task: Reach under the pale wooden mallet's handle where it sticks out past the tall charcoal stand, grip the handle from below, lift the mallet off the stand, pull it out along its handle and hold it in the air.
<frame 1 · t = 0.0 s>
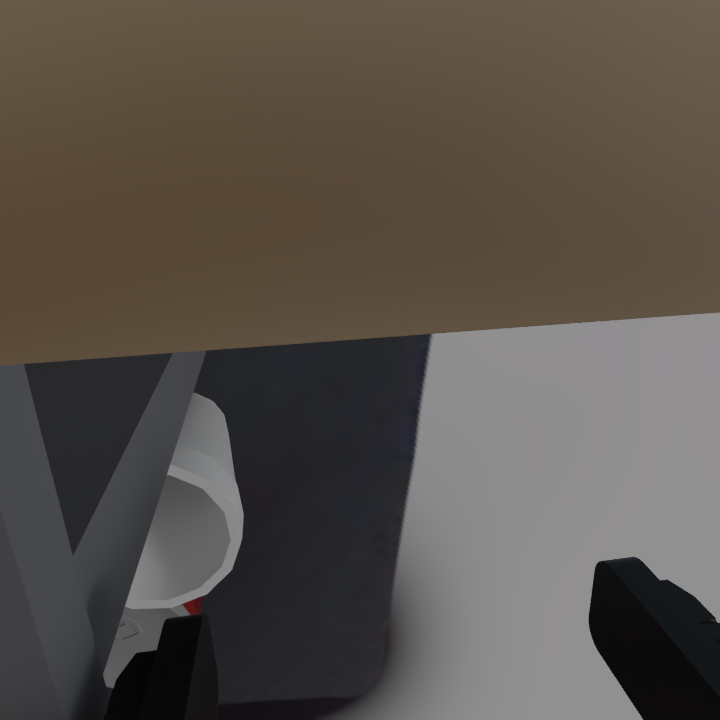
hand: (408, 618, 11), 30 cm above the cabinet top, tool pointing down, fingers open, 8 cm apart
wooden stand: (152, 164, 35), on the cabinet top
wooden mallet: (1, 147, 5), point 32 cm above the cabinet top, touching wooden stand
foam cup: (185, 428, 41), on the cabinet top
canned food: (162, 531, 44), on the cabinet top
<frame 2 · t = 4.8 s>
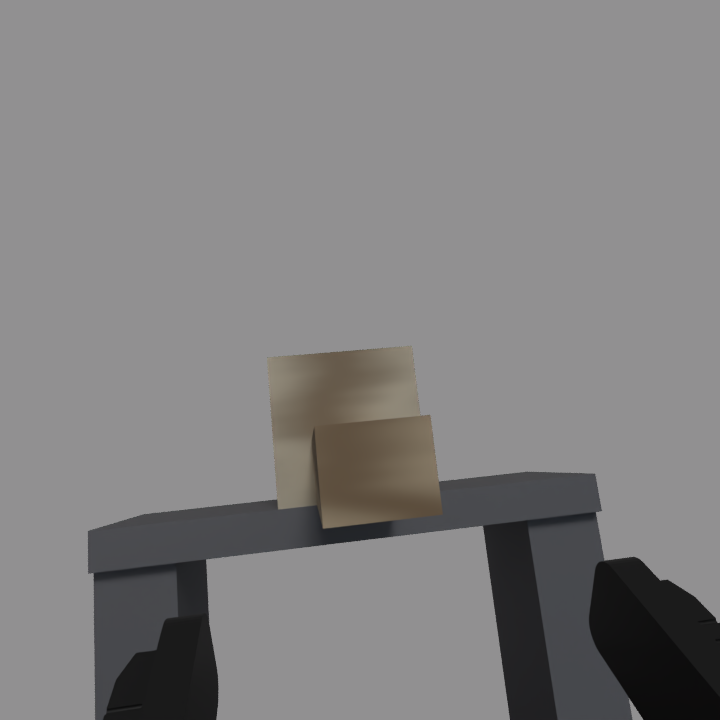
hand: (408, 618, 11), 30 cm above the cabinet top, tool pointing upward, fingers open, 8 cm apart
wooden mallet: (357, 502, 20), point 32 cm above the cabinet top, touching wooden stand
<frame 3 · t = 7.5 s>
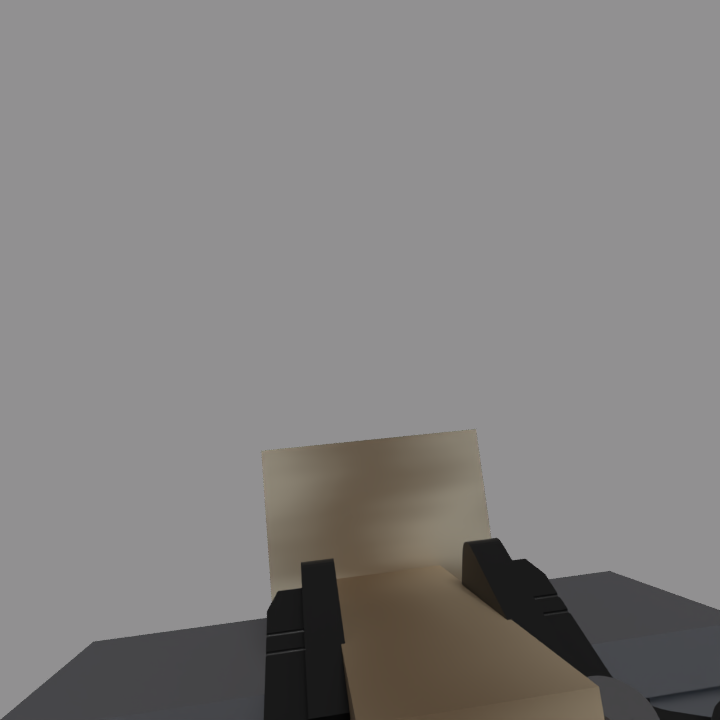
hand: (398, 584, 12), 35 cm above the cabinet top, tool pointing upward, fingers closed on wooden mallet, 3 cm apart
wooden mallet: (402, 690, 13), point 32 cm above the cabinet top, touching gripper, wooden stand
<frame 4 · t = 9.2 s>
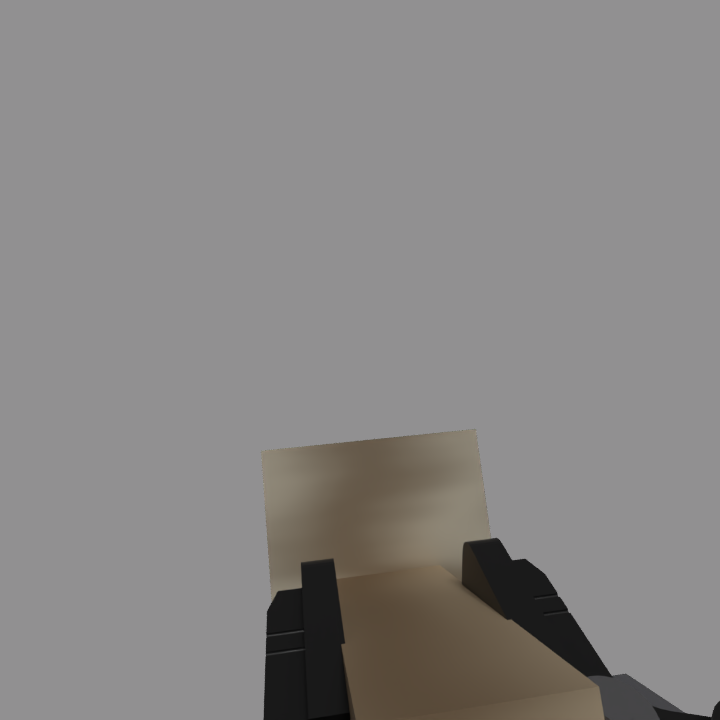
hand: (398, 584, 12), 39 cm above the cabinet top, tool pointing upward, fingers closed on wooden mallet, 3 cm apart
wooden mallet: (402, 690, 13), point 36 cm above the cabinet top, touching gripper
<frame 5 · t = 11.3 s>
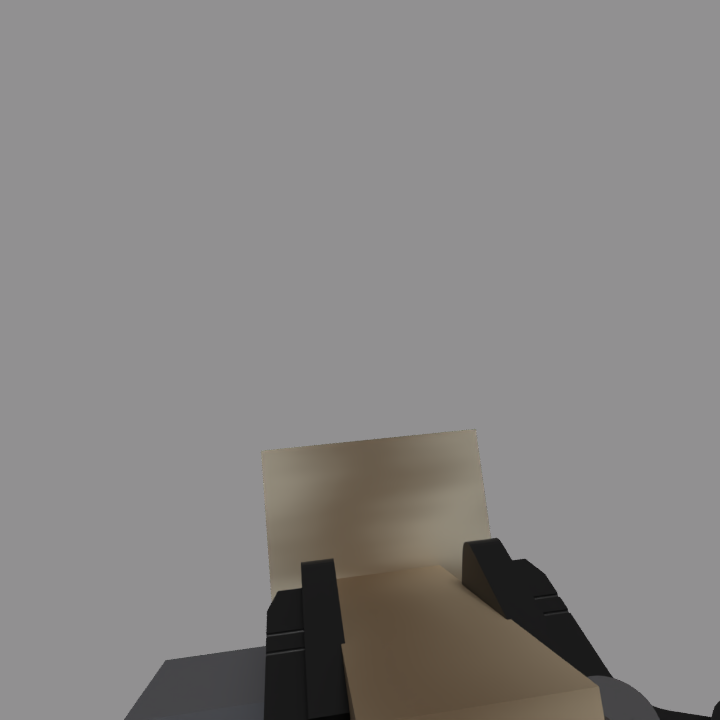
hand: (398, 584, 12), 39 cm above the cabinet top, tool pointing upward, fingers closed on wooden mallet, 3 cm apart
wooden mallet: (402, 690, 13), point 36 cm above the cabinet top, touching gripper
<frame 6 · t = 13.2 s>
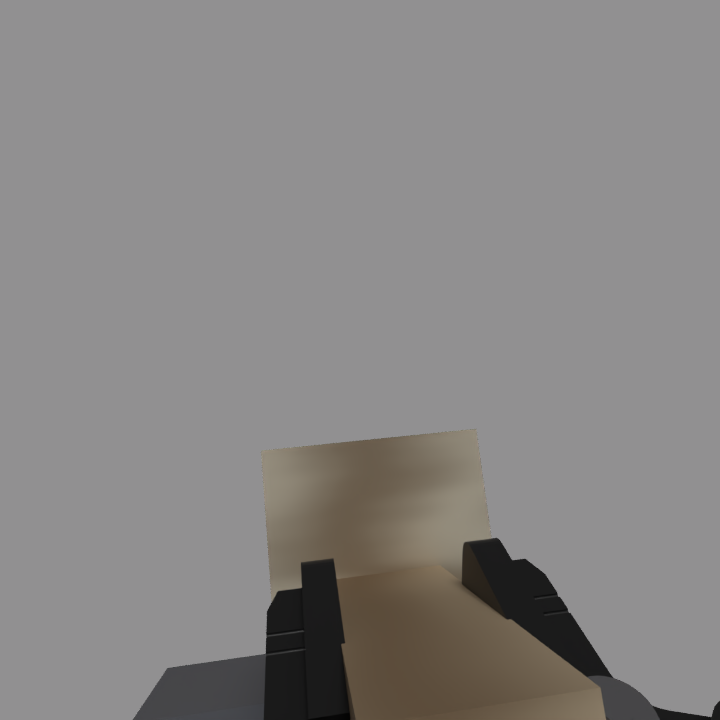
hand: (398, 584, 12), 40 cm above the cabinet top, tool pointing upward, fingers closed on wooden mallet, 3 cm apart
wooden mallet: (403, 691, 13), point 38 cm above the cabinet top, touching gripper
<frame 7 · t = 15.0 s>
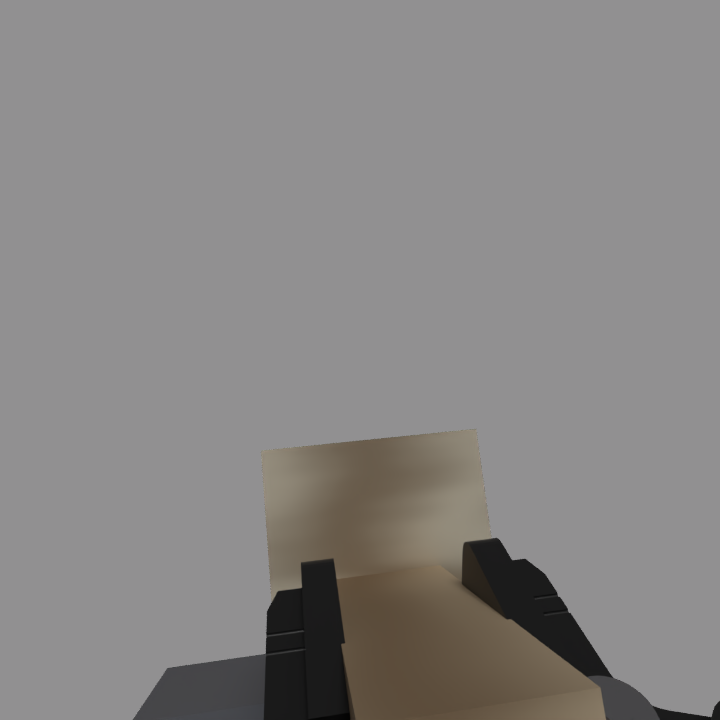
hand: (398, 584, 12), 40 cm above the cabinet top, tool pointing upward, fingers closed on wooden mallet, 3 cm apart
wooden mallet: (403, 691, 13), point 38 cm above the cabinet top, touching gripper
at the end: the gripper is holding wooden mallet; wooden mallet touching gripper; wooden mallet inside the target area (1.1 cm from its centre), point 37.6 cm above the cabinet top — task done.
